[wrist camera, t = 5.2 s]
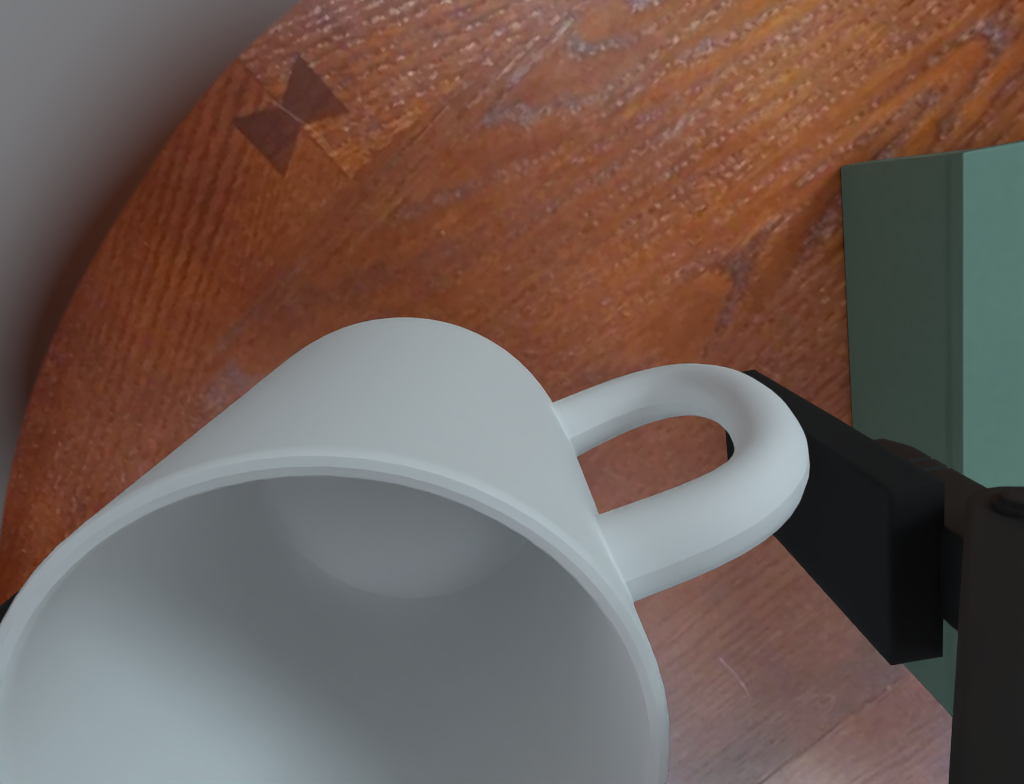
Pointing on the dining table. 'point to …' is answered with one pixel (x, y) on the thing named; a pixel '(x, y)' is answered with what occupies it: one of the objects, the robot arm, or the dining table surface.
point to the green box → (939, 319)
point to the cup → (385, 579)
